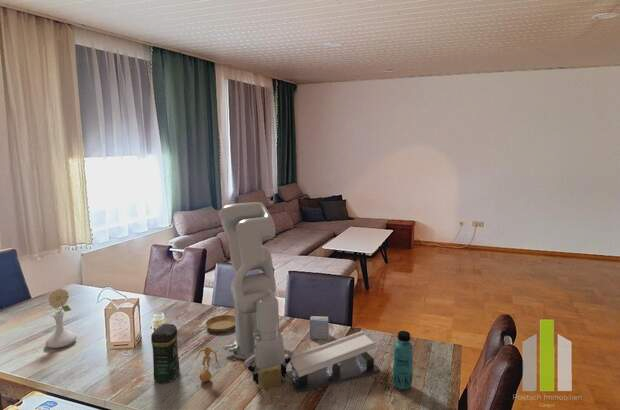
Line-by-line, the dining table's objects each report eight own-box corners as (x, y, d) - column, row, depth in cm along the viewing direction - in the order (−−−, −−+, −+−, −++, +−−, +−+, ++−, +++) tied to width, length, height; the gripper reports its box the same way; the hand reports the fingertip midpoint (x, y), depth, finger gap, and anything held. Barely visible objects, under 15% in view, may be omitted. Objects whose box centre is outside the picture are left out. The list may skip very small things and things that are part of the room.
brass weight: (263, 390, 136) (263, 374, 135) (259, 381, 142) (258, 365, 141) (280, 386, 138) (280, 370, 137) (275, 377, 144) (275, 361, 143)
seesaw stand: (297, 393, 134) (297, 375, 133) (286, 374, 145) (285, 357, 144) (380, 372, 146) (380, 355, 145) (363, 356, 157) (364, 340, 156)
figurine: (192, 382, 141) (190, 351, 139) (200, 373, 147) (198, 342, 145) (213, 386, 139) (211, 353, 137) (221, 376, 145) (220, 345, 143)
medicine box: (328, 335, 174) (328, 316, 173) (328, 340, 170) (328, 320, 169) (310, 334, 175) (310, 315, 174) (309, 339, 171) (309, 320, 169)
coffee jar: (173, 383, 140) (169, 334, 138) (150, 383, 141) (146, 334, 138) (183, 368, 150) (179, 321, 147) (162, 368, 150) (158, 321, 147)
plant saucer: (202, 323, 187) (202, 318, 187) (233, 317, 194) (233, 312, 193) (209, 337, 174) (208, 331, 174) (242, 330, 180) (242, 324, 180)
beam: (299, 377, 135) (298, 371, 134) (289, 362, 144) (288, 357, 143) (376, 347, 145) (375, 342, 145) (363, 336, 154) (362, 330, 153)
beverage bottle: (390, 382, 139) (391, 328, 136) (408, 381, 140) (410, 327, 137) (395, 394, 133) (396, 338, 130) (415, 393, 133) (416, 336, 130)
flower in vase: (39, 347, 167) (32, 290, 163) (65, 335, 177) (58, 281, 173) (61, 353, 162) (54, 294, 158) (86, 340, 172) (80, 285, 168)
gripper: (245, 342, 130) (247, 391, 133) (295, 332, 137) (297, 379, 139) (240, 332, 137) (243, 379, 140) (288, 323, 143) (290, 368, 146)
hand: (270, 379), depth 139 cm, fingers open, 9 cm apart
